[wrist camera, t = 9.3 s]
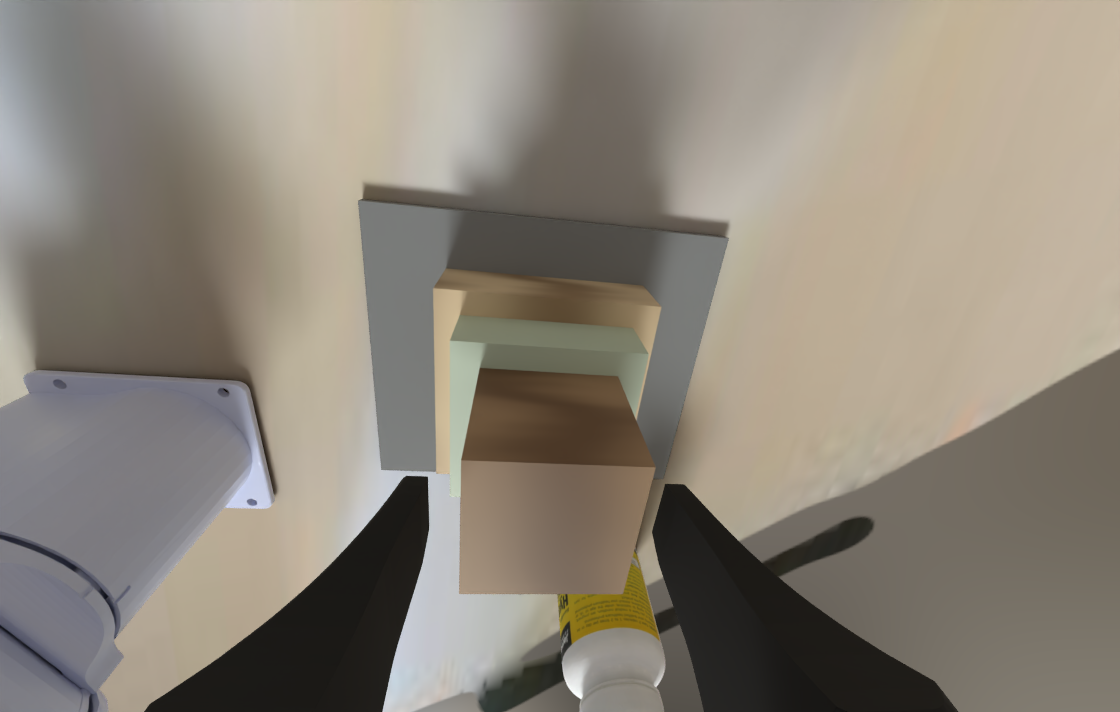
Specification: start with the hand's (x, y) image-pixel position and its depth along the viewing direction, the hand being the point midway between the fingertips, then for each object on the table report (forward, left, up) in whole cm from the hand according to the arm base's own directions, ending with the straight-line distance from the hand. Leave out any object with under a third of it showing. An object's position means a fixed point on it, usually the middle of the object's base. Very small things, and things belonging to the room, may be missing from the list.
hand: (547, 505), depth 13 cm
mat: (0, 0, -10) cm, 10 cm away
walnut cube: (0, 0, -4) cm, 4 cm away
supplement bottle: (+5, -14, -10) cm, 18 cm away
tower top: (0, 0, -6) cm, 6 cm away
